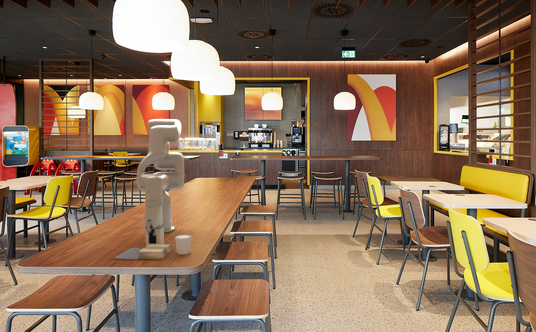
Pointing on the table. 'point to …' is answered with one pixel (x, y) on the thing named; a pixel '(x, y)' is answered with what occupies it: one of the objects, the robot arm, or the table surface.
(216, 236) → the table surface
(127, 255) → the grey mat
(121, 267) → the table surface
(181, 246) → the pale pink cylinder
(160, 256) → the birch step
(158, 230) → the cream block
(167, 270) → the table surface
